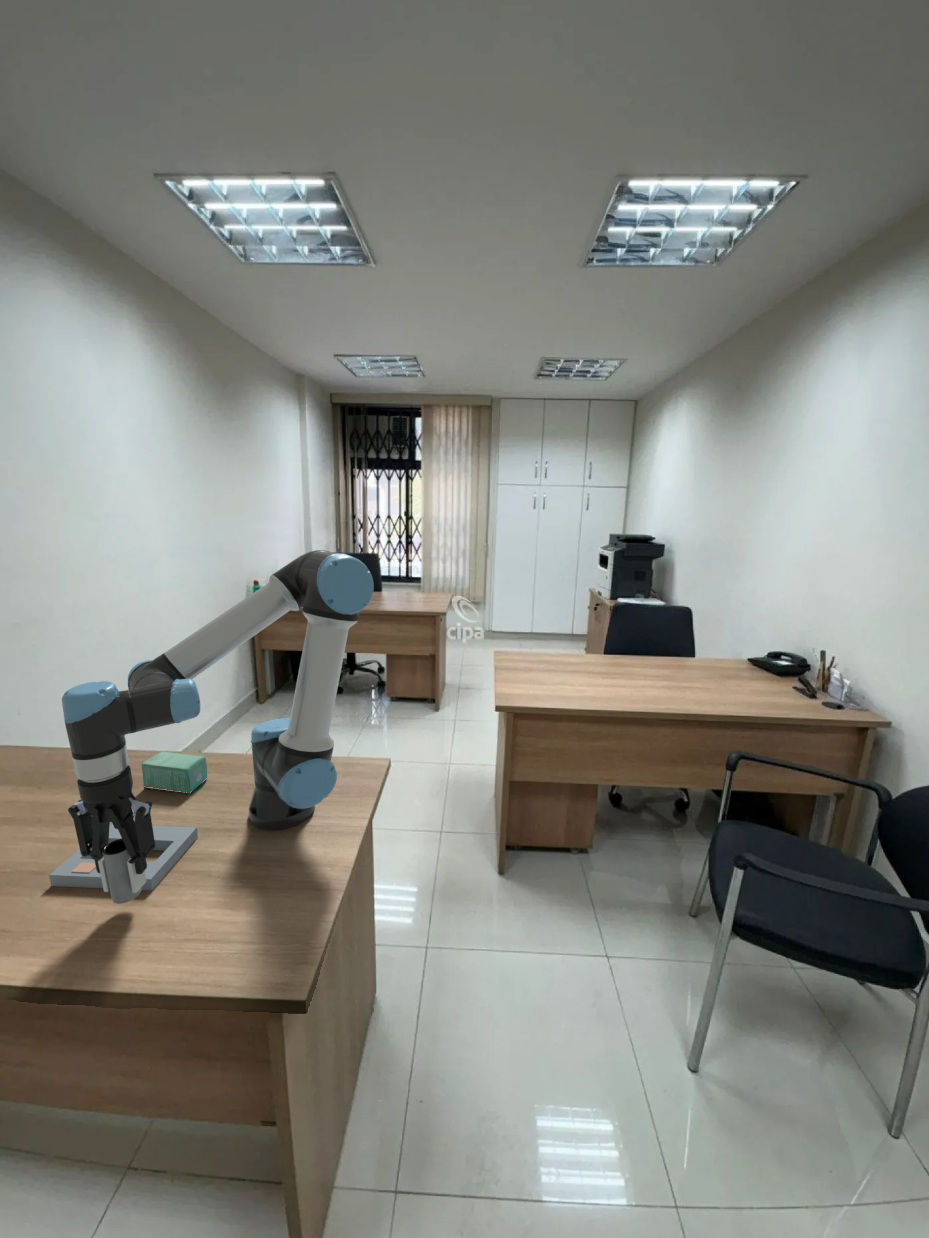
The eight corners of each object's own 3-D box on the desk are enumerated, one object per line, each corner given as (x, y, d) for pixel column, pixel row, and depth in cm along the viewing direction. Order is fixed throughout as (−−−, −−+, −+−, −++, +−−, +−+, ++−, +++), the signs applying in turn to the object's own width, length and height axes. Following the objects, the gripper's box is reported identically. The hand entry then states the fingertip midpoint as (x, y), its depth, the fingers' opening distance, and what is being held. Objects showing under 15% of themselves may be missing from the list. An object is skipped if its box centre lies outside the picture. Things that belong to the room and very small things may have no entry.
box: (190, 795, 129) (188, 768, 128) (143, 790, 131) (140, 763, 129) (209, 780, 136) (206, 754, 135) (163, 775, 138) (160, 750, 137)
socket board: (197, 837, 113) (196, 826, 112) (152, 890, 97) (150, 878, 97) (110, 833, 113) (108, 823, 113) (51, 886, 98) (49, 873, 97)
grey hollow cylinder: (121, 886, 94) (112, 838, 92) (146, 884, 95) (138, 836, 92) (106, 905, 90) (96, 855, 87) (133, 903, 90) (123, 853, 88)
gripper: (167, 761, 90) (184, 872, 95) (71, 759, 90) (93, 870, 96) (139, 784, 82) (160, 904, 88) (35, 782, 83) (61, 901, 88)
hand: (125, 886), depth 92 cm, fingers closed on grey hollow cylinder, 4 cm apart
